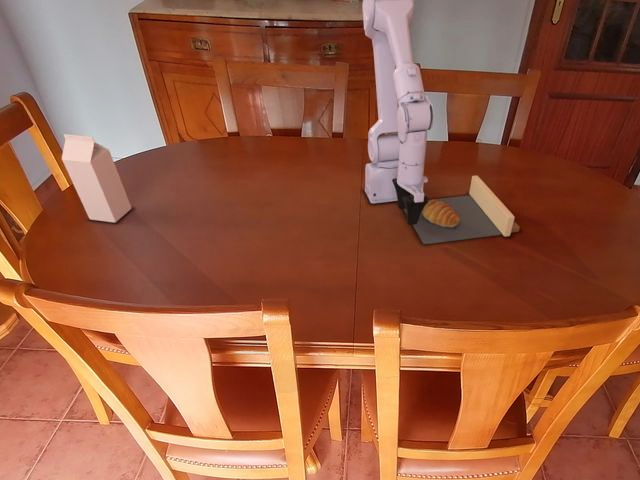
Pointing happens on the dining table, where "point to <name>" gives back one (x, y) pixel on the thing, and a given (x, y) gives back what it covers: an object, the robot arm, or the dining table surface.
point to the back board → (493, 207)
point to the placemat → (467, 228)
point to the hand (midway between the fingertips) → (407, 215)
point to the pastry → (440, 214)
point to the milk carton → (95, 178)
